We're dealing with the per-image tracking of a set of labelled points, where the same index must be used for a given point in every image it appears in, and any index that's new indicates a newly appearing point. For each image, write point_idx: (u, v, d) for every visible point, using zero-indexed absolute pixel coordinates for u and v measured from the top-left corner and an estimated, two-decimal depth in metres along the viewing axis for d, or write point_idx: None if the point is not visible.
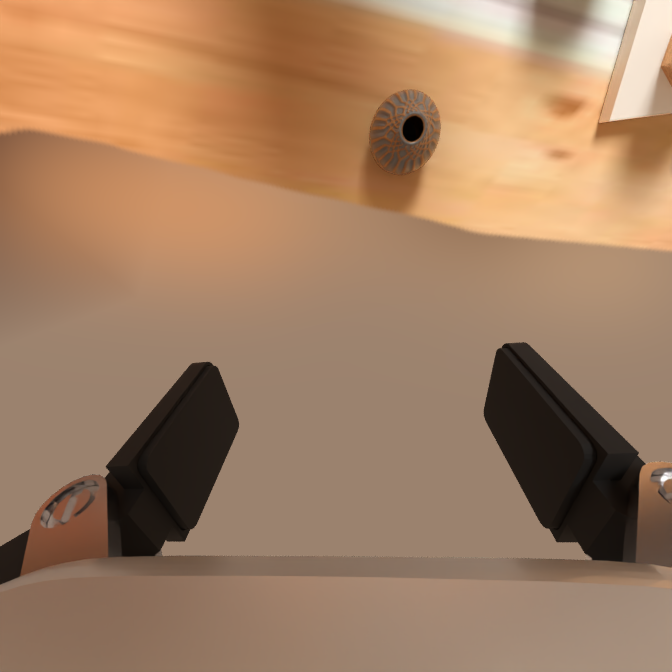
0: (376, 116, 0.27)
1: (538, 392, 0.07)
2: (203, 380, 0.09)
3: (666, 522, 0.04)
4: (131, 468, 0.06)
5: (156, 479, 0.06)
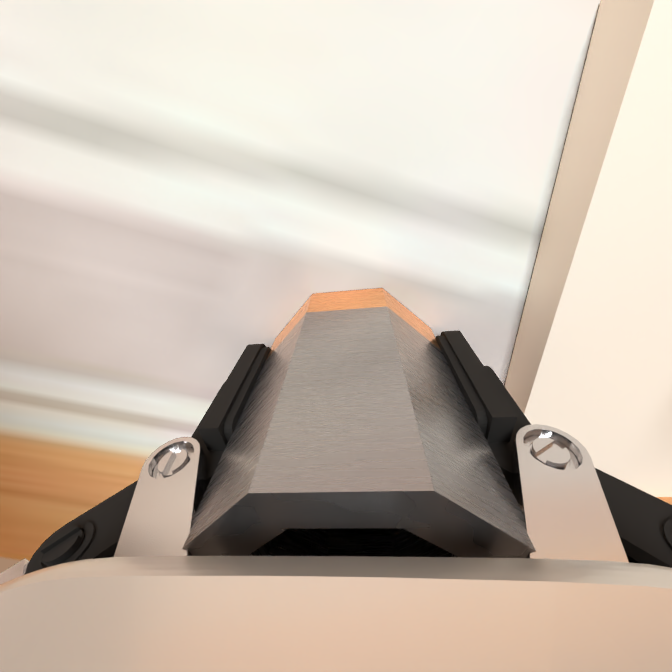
0: None
1: (456, 371, 0.08)
2: (262, 359, 0.09)
3: (540, 479, 0.05)
4: (219, 431, 0.07)
5: None
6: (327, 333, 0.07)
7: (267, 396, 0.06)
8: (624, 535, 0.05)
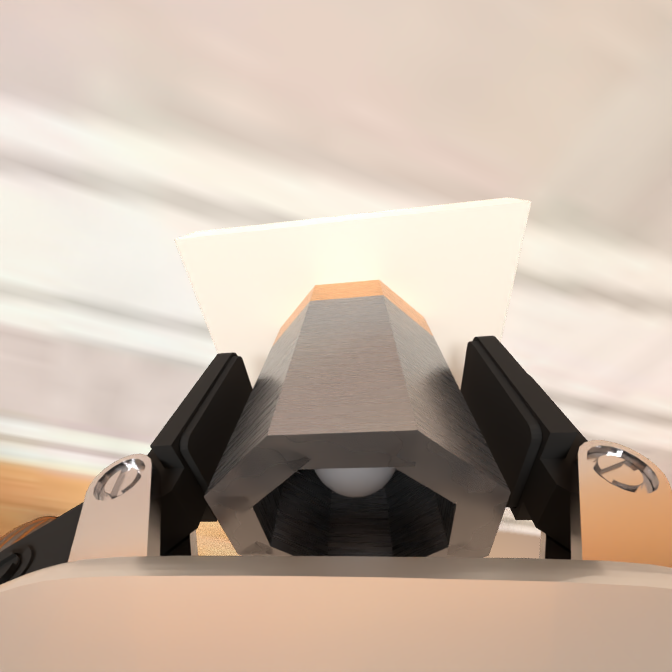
0: None
1: (498, 380, 0.07)
2: (231, 369, 0.09)
3: (602, 497, 0.05)
4: (173, 448, 0.06)
5: (194, 459, 0.07)
6: (329, 317, 0.08)
7: (277, 370, 0.07)
8: None
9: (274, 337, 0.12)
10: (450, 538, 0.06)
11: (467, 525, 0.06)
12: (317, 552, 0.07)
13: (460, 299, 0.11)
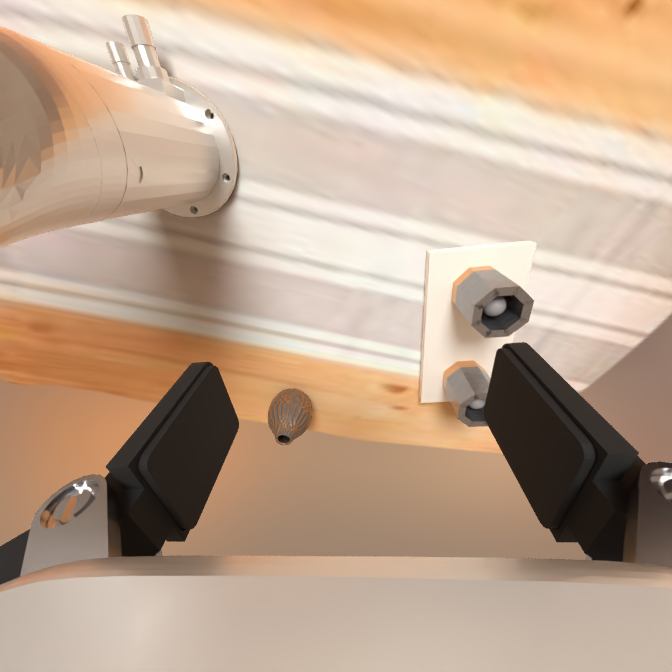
0: (268, 413, 0.43)
1: (538, 392, 0.07)
2: (203, 380, 0.09)
3: (666, 522, 0.04)
4: (131, 468, 0.06)
5: (156, 479, 0.06)
6: (485, 274, 0.31)
7: (479, 284, 0.30)
8: None
9: (449, 285, 0.35)
10: (521, 315, 0.29)
11: (525, 311, 0.29)
12: (487, 327, 0.31)
13: (514, 271, 0.34)
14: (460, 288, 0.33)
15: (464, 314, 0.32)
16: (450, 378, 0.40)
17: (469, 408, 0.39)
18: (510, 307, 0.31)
